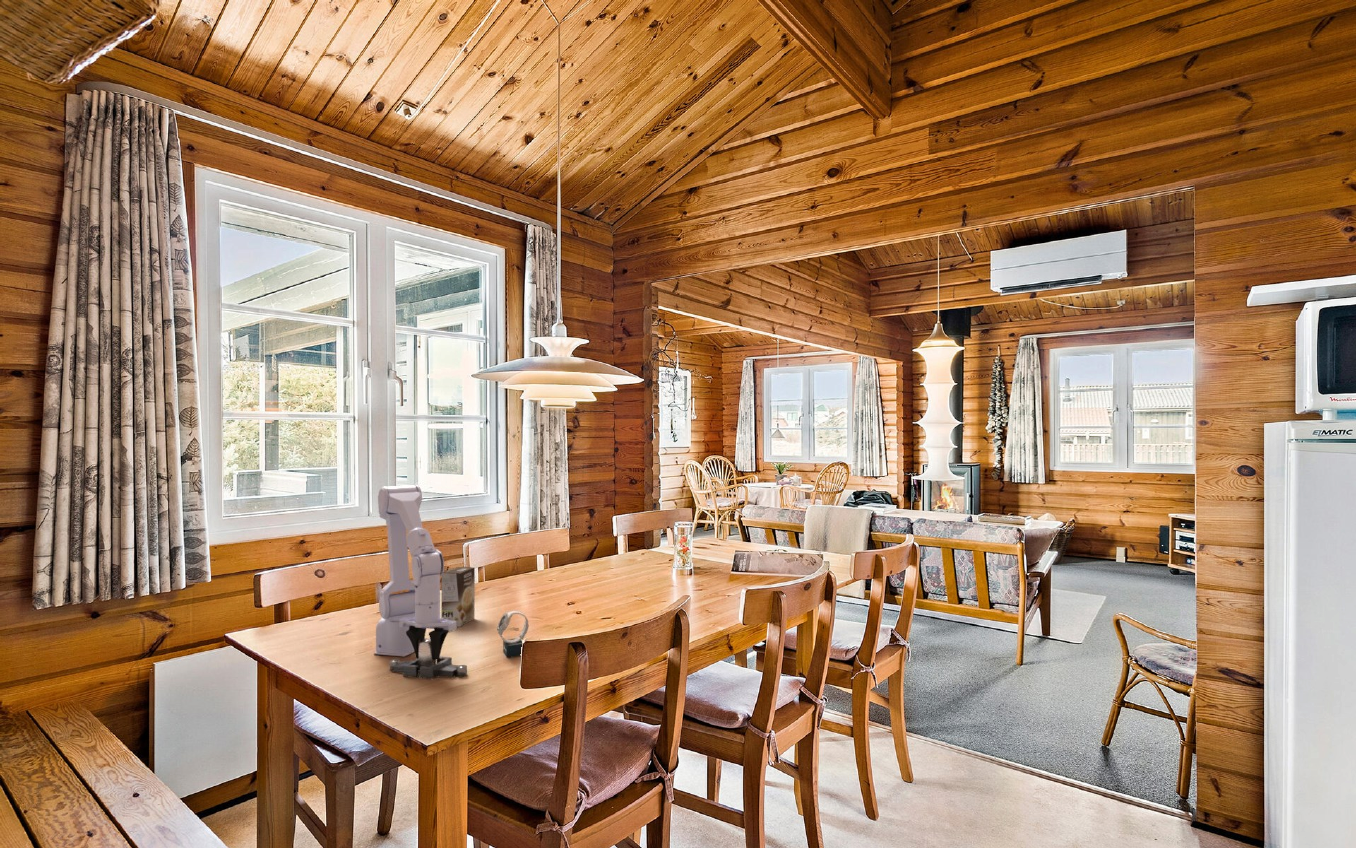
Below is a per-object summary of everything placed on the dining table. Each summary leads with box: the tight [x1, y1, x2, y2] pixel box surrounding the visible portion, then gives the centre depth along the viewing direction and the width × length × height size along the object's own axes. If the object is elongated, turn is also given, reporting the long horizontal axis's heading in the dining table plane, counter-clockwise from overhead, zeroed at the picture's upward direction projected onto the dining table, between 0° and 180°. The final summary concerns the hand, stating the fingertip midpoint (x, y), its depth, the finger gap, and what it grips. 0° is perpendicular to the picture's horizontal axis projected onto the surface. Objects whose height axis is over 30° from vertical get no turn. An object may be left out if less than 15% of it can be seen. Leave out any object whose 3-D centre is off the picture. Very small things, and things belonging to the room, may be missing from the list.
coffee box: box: [440, 566, 476, 627], centre depth 211 cm, size 9×6×16 cm
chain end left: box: [389, 658, 420, 678], centre depth 170 cm, size 10×8×2 cm
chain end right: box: [419, 656, 468, 680], centre depth 167 cm, size 10×8×2 cm
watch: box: [496, 610, 530, 659], centre depth 182 cm, size 6×8×11 cm
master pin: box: [418, 637, 437, 672], centre depth 168 cm, size 4×4×7 cm
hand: (427, 658), depth 168 cm, fingers closed on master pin, 4 cm apart
